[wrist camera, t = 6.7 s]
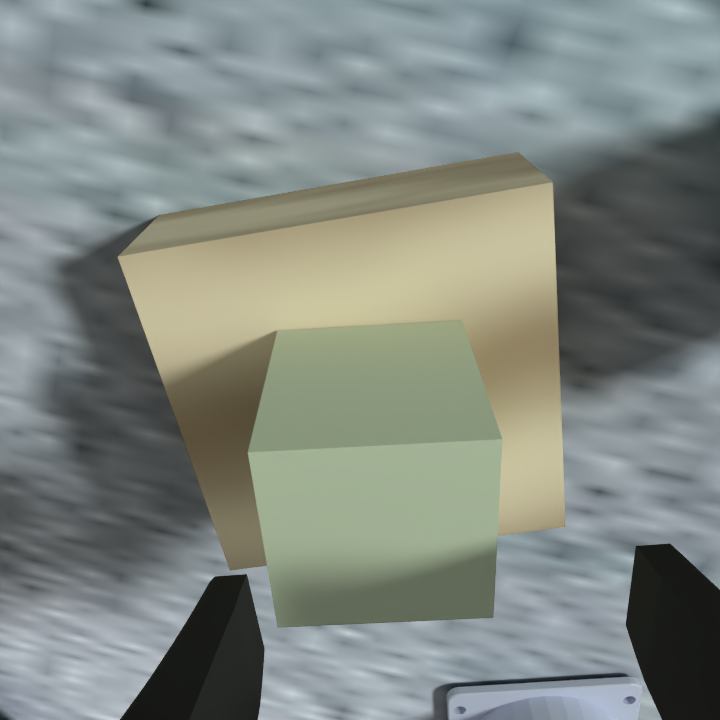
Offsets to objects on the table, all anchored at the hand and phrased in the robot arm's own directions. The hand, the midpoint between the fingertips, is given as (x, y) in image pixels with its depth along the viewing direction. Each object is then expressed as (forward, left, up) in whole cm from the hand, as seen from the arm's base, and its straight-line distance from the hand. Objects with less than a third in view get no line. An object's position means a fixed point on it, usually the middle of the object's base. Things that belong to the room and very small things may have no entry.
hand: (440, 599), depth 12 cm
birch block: (+1, +1, -10) cm, 10 cm away
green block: (+1, +1, -6) cm, 6 cm away
